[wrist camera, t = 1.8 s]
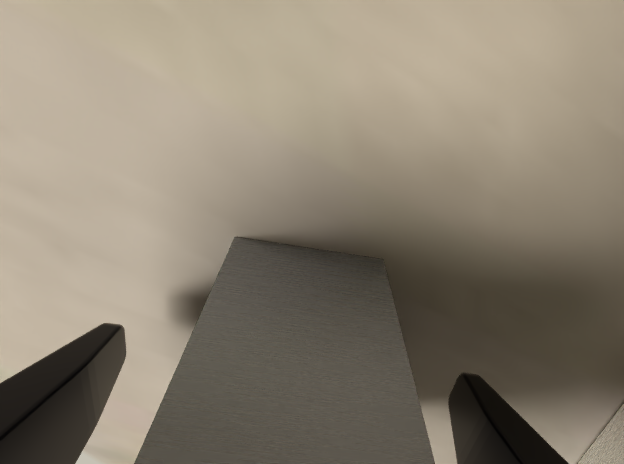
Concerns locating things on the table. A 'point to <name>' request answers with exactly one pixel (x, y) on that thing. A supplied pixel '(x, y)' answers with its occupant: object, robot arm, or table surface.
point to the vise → (608, 443)
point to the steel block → (292, 367)
